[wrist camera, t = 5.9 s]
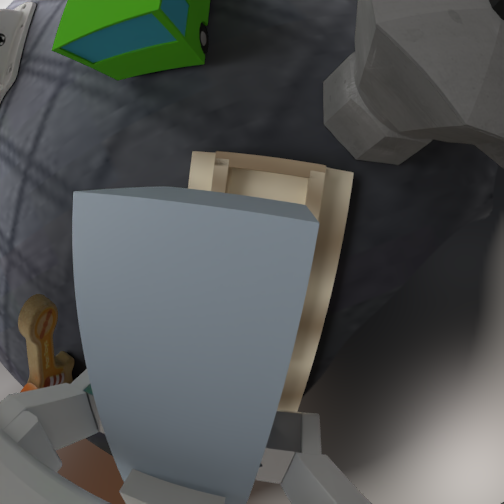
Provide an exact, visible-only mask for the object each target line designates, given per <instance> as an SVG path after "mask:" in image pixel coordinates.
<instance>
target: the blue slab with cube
mask: <svg viewBox="0 0 504 504" xmlns="http://www.w3.org/2000/svg"><path fill="white" fill-rule="evenodd" d="M318 229H319V222H318V220H317V219H316V218H315V216H314V215H313V214H312V213H311V211H310V210H309V209H308V207H307V206H306V205H303V204H297V203H291V202H285V201H278V200H272V199H265V198H258V197H251V196H244V195H237V194H229V193H222V192H213V191H205V190H196V189H187V188H178V187H168V186H161V187H134V188H115V189H99V190H85V191H74V192H73V216H72V247H73V271H74V285H75V296H76V305H77V314H78V321H79V328H80V334H81V341H82V346H83V352H84V357H85V362H86V367H87V371H88V376H89V380H90V384H91V388H92V392H93V396H94V400H95V403H96V407H97V410H98V413H99V417H100V420H101V423H102V426H103V429H104V432H105V435H106V438H107V441H108V444H109V447H110V449H111V452H112V455H113V457H114V460H115V462H116V465H117V467H118V469H119V472H120V474H121V476H122V479H123V481H124V484H123V486H122V488H121V489H120V491H119V492H120V494H121V495H122V497H123V499H124V501H125V503H126V504H246V503H247V500H248V498H249V495H250V492H251V489H252V487H253V484H254V481H255V478H256V475H257V472H258V469H259V466H260V463H261V460H262V457H263V454H264V451H265V448H266V445H267V441H268V438H269V435H270V432H271V428H272V425H273V422H274V418H275V415H276V412H277V408H278V405H279V401H280V398H281V394H282V390H283V387H284V383H285V379H286V375H287V372H288V368H289V364H290V360H291V356H292V352H293V348H294V344H295V340H296V336H297V331H298V327H299V323H300V318H301V314H302V310H303V305H304V300H305V296H306V291H307V286H308V282H309V277H310V272H311V267H312V262H313V256H314V251H315V246H316V240H317V235H318Z"/></svg>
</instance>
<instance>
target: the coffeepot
mask: <svg viewBox="0 0 504 504" xmlns="http://www.w3.org/2000/svg"><path fill="white" fill-rule="evenodd" d="M323 106H324V125H325V126H326V127H327V128H328V129H329V131H330V132H331V133H332V134H333V135H334V136H335V137H336V139H337V140H338V141H339V142H340V143H341V144H342V145H343V146H344V147H345V148H346V149H347V150H348V151H349V152H350V153H351V155H352V156H353V157H354V158H355V159H356V160H364V161H371V162H380V163H388V164H395V165H399V164H401V163H402V162H404V161H405V160H406V159H408V158H409V157H411V156H412V155H413V154H415V153H416V152H418V151H419V150H420V149H422V148H423V147H425V146H426V145H427V144H429V143H430V142H431V141H432V140H433V139H434V140H440V141H445V142H452V143H464V144H473V145H475V146H476V147H477V148H479V149H480V150H481V151H482V152H484V153H485V154H486V155H487V156H489V157H490V158H491V159H492V160H494V161H495V162H496V163H497V164H498V165H499V166H501V167H502V168H503V169H504V0H358V4H357V18H356V30H355V52H354V53H352V54H351V55H350V56H349V57H348V58H347V59H346V60H345V61H344V62H343V63H342V64H341V65H340V66H339V67H338V68H337V69H336V70H335V71H334V72H333V73H332V74H331V75H330V76H329V77H328V78H327V79H326V80H325V81H324V82H323Z"/></svg>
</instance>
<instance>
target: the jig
mask: <svg viewBox="0 0 504 504" xmlns="http://www.w3.org/2000/svg"><path fill="white" fill-rule="evenodd" d="M353 175H354V173H352V172H347V171H342V170H337V169H332V168H327V167H326V165H320V164H314V163H308V162H302V161H296V160H289V159H282V158H275V157H267V156H259V155H251V154H241V153H231V152H220V151H216V153H211V152H198V151H192V159H191V167H190V176H189V184H188V189H196V190H205V191H213V192H222V193H229V194H237V195H244V196H251V197H258V198H265V199H272V200H278V201H285V202H291V203H297V204H303V205H306V206H307V207H308V209H309V210H310V211H311V213H312V214H313V215H314V216H315V218H316V219H317V220H318V222H319V229H318V235H317V240H316V246H315V251H314V256H313V262H312V267H311V272H310V277H309V282H308V286H307V291H306V296H305V300H304V305H303V310H302V314H301V318H300V323H299V327H298V331H297V336H296V340H295V344H294V348H293V352H292V356H291V360H290V364H289V368H288V372H287V375H286V379H285V383H284V387H283V390H282V394H281V398H280V401H279V405H278V408H277V409H279V410H287V411H295V412H297V411H298V407H299V405H300V402H301V399H302V396H303V393H304V390H305V387H306V383H307V380H308V377H309V374H310V371H311V367H312V364H313V361H314V357H315V354H316V350H317V347H318V343H319V340H320V336H321V332H322V329H323V325H324V321H325V317H326V313H327V309H328V305H329V301H330V297H331V293H332V288H333V284H334V280H335V275H336V271H337V266H338V261H339V256H340V251H341V246H342V241H343V236H344V231H345V225H346V220H347V214H348V208H349V202H350V195H351V189H352V182H353Z"/></svg>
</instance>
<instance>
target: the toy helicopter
mask: <svg viewBox="0 0 504 504" xmlns="http://www.w3.org/2000/svg"><path fill="white" fill-rule="evenodd" d="M57 319H58V311H57V307H56V305H55V304H54V303H53V302H52V301H50V300H49V299H48V298H46V297H45V296H44V295H42V294H36V295H33V296H31V297H30V298H29V299H28V300H27V301H26V302H25V304H24V305H23V307H22V309H21V311H20V315H19V319H18V327H19V331H20V333H21V334H22V335H23V336H24V337H25V338H26V343H27V354H28V363H29V371H30V376H29V379H28V382H27V384H26V385H25V386H24V388H23V389H22V390H21V392H25V391H30V390H35V389H40V388H45V387H50V386H54V385H59V384H63V383H68V384H71V383H72V382H73V379H72V369H73V366H74V358H73V357H71V356H70V355H69V354H67V353H66V352H64V351H61V352H60V353H59V354H58V355H56V356H55V357H54V347H53V332H54V329H55V326H56V324H57Z"/></svg>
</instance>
